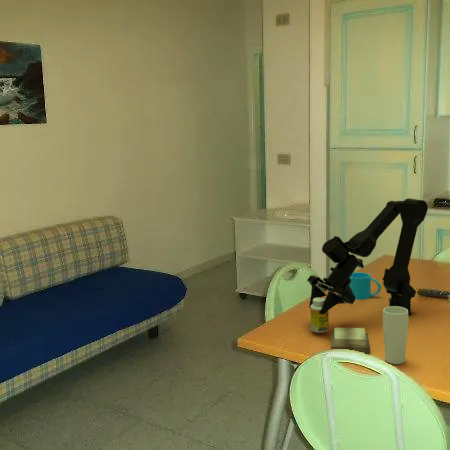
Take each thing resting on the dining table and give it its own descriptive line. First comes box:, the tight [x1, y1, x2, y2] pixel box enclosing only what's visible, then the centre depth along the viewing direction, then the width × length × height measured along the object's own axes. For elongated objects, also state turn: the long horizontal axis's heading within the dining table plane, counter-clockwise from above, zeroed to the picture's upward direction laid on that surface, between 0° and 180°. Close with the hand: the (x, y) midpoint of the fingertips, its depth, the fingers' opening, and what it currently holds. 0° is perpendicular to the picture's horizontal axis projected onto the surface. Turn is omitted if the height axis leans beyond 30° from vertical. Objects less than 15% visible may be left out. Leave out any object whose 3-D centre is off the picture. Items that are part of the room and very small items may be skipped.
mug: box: [349, 271, 382, 301], centre depth 218 cm, size 12×8×8 cm
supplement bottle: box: [310, 297, 329, 333], centre depth 185 cm, size 6×6×10 cm
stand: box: [330, 327, 371, 355], centre depth 175 cm, size 11×11×4 cm
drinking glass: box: [382, 305, 409, 365], centre depth 162 cm, size 7×7×15 cm
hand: (315, 311), depth 184 cm, fingers closed on supplement bottle, 5 cm apart
